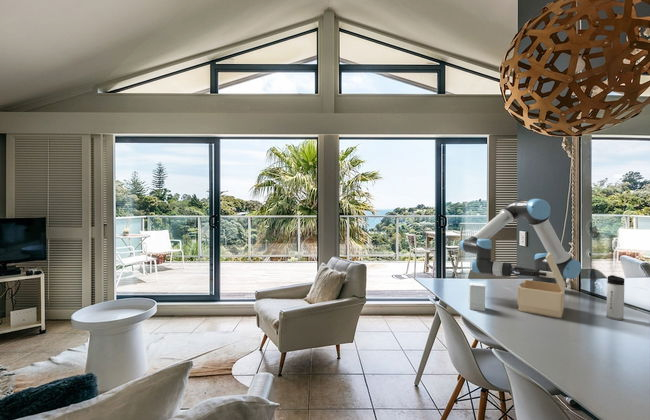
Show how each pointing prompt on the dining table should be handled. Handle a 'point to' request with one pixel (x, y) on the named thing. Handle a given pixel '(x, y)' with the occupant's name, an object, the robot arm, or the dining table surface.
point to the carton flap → (556, 272)
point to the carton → (541, 298)
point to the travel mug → (615, 298)
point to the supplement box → (477, 296)
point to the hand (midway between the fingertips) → (554, 275)
